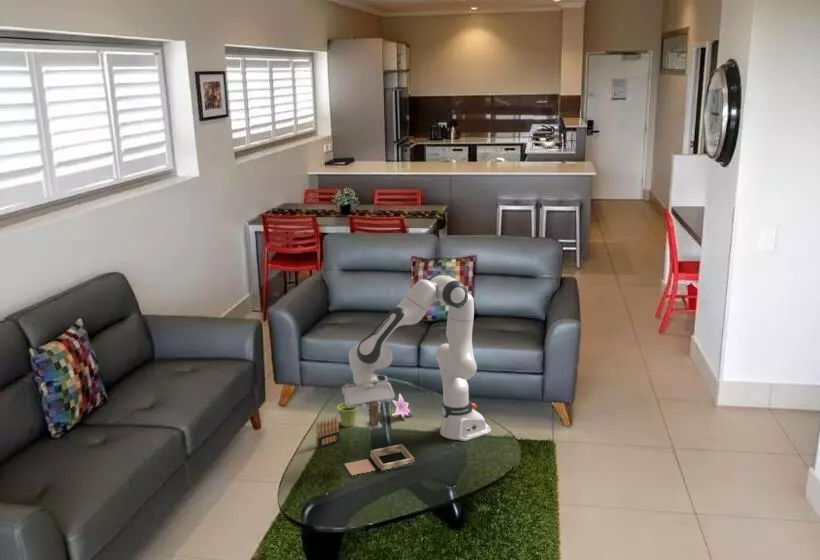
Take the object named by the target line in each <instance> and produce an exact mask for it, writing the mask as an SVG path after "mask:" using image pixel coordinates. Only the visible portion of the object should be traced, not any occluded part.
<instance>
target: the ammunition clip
mask: <svg viewBox="0 0 820 560" xmlns="http://www.w3.org/2000/svg"><path fill="white" fill-rule="evenodd" d="M339 430H340V429H339V420H338V417H337V416H335V417H331V420H330V418H328V419H327V420H326V419H324V420H321V421H320V422H319V421H317V422H316V437H315V438H316V446H318V448H320V449H324V448H326V447H330V446H333V445H335V444H339V443H341V438H340V437H341V436H340V435H341V434H340V431H339ZM316 446H315V447H316ZM318 448H317V449H318Z"/></svg>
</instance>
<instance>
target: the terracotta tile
mask: <svg viewBox="0 0 820 560" xmlns="http://www.w3.org/2000/svg"><path fill="white" fill-rule="evenodd" d="M344 467H345V468H346V469H347V471H348V473H349V474H350V475H352V476H351V477H354V476H353V475H355V476H358V475H357V474H360V475H362V474H361V473H364V474H368V473H367V472H369V473H372V472H371V471H374V472H376V471H375V470H376V468H375V467H374V466H373V464H372V463H371V461H370V460H369V459H368V458H365V459H360V460H356V461H355V460H354V461H352V462H351V461H350V462H346V463H344Z"/></svg>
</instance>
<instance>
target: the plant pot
mask: <svg viewBox="0 0 820 560" xmlns="http://www.w3.org/2000/svg"><path fill="white" fill-rule="evenodd" d="M336 408H337V409H336V410H337V411H338V412H339V413H338V414H339V417H340V423H341V425H342V426H343V427H346V428H350V427H352V426H355V425H354V424H356V419H357V418H356V417H357V412H358V408H359V406H358V407H351V408H348V407H346V405H345V402H343V403H340V404H338V405H337V406H336Z"/></svg>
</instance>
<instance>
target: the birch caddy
mask: <svg viewBox="0 0 820 560" xmlns="http://www.w3.org/2000/svg"><path fill="white" fill-rule="evenodd" d="M399 453H401V454H402V456H404V459H401V460H400V459H399V460H395V461H391V462H386V463H383V461H382V460H381V458H380V457H382V456H389V455H393V454H399ZM370 458H371V460H372V461H373V462H374V463H375V465H376V466H377V468H378V469H379V468H380V469H381V470H386V469H390V468H392V467H397V466H402V465H404V464H408V463H412V462H416V461H415V457H414V456H413V455H412V454H411V453H410V451H409V450H408V449H407V448H406V447H405V445H403V444H402V443H399V444H395V445H390V446H385V447H380V448H375V449H370ZM380 469H379V470H380ZM381 470H380V471H381Z"/></svg>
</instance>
